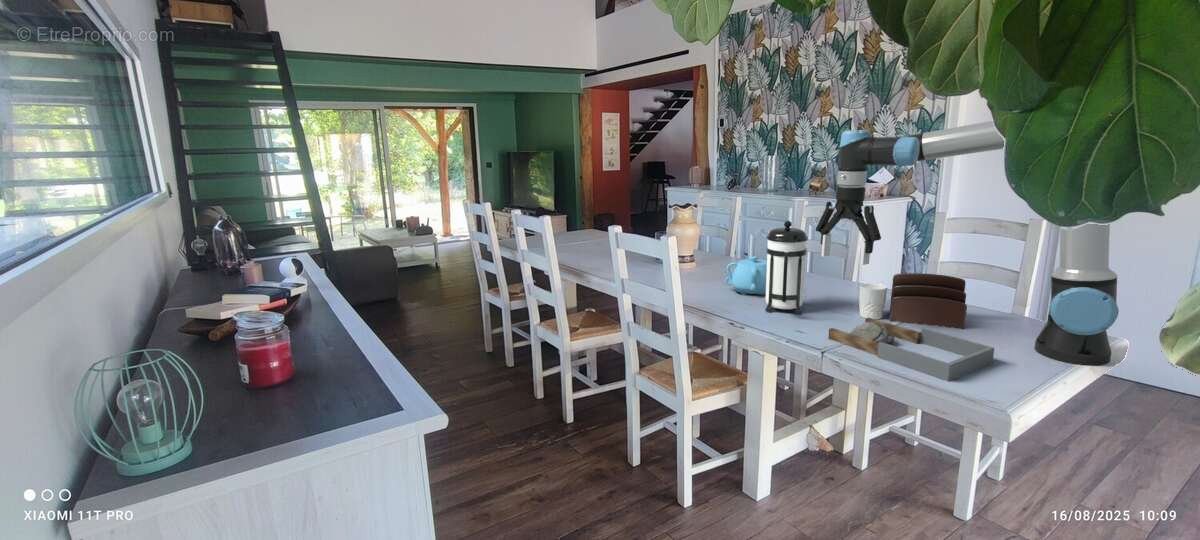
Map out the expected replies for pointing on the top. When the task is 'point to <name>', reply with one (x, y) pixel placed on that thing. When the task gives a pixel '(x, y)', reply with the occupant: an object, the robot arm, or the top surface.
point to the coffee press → (785, 268)
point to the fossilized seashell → (873, 332)
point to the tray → (973, 360)
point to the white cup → (872, 300)
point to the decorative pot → (748, 276)
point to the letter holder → (928, 300)
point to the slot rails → (869, 344)
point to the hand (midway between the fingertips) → (844, 260)
